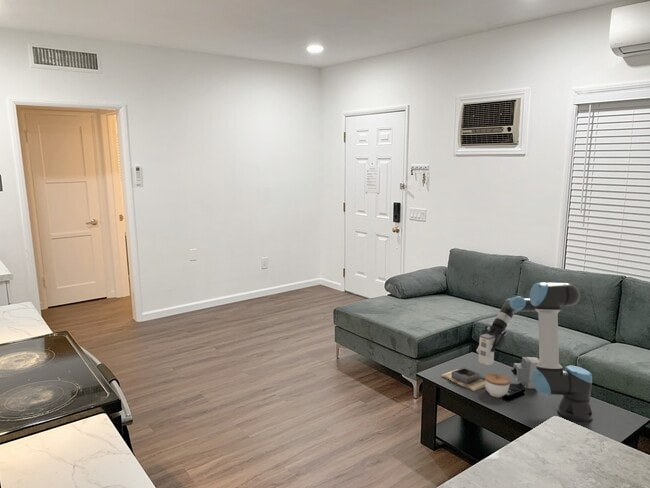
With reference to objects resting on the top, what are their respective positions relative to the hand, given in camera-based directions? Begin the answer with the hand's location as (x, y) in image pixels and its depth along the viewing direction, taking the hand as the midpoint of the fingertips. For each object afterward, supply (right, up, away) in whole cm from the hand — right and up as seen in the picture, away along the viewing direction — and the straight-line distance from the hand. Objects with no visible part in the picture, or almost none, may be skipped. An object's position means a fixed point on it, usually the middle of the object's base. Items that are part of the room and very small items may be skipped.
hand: (482, 353), depth 268 cm
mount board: (-11, -14, -3) cm, 18 cm away
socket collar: (-11, -13, -3) cm, 17 cm away
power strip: (+3, -6, +3) cm, 7 cm away
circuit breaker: (+21, -16, -8) cm, 27 cm away
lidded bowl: (+1, -17, -19) cm, 26 cm away
